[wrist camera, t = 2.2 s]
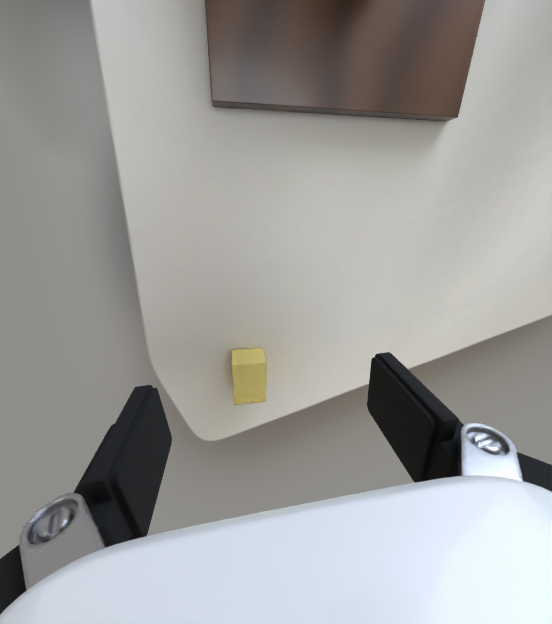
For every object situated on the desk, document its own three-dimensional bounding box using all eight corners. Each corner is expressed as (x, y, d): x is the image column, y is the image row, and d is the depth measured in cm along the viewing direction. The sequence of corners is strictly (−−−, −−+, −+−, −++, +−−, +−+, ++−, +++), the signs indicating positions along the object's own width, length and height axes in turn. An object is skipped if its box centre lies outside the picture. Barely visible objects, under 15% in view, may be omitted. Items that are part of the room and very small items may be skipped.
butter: (263, 384, 31) (266, 402, 28) (234, 386, 30) (234, 405, 27) (263, 347, 29) (266, 362, 26) (231, 349, 28) (231, 365, 26)
